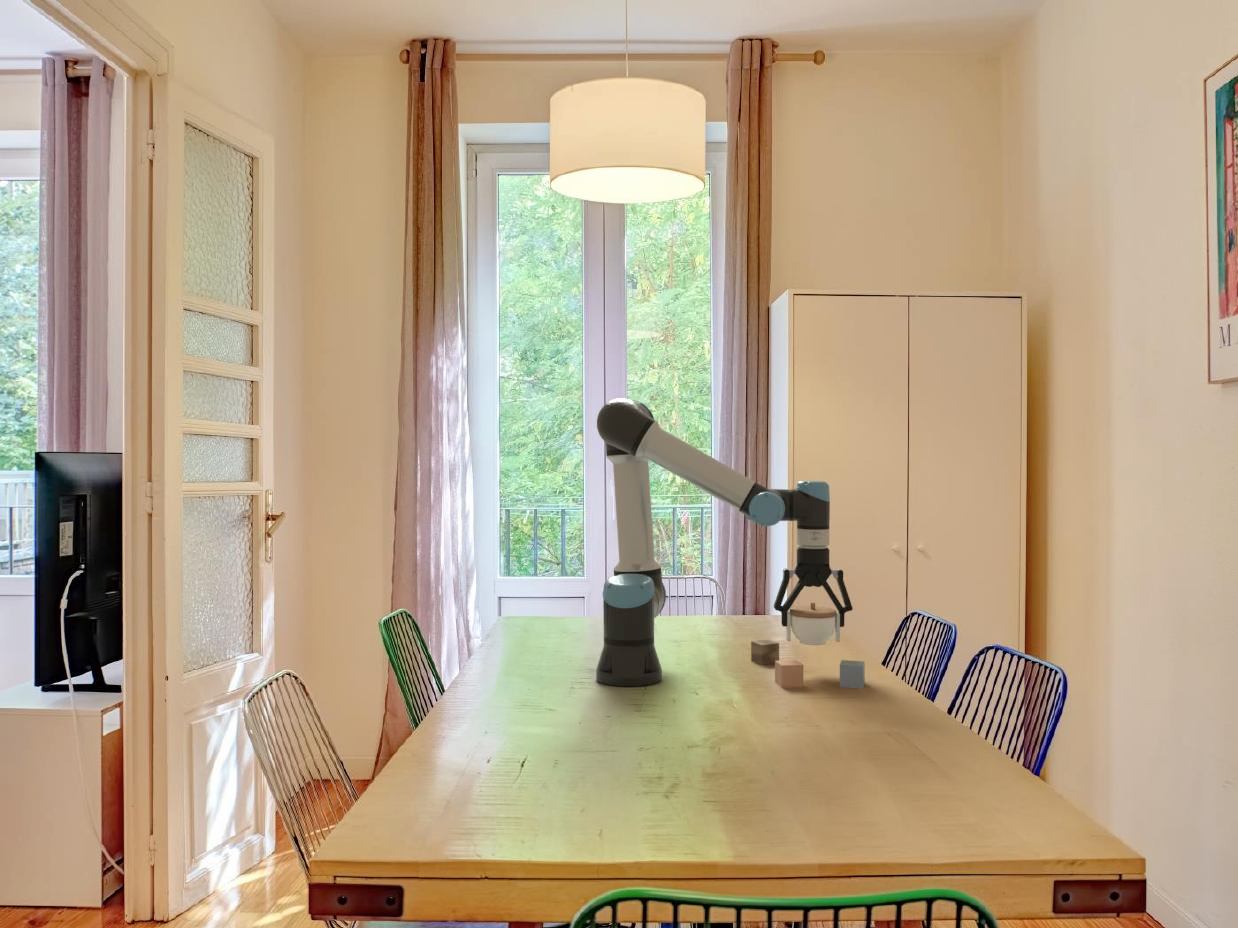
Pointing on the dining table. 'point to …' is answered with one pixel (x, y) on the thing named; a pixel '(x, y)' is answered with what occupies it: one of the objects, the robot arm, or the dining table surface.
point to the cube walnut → (764, 652)
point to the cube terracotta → (789, 673)
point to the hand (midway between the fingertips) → (812, 640)
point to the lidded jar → (813, 624)
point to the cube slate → (852, 674)
